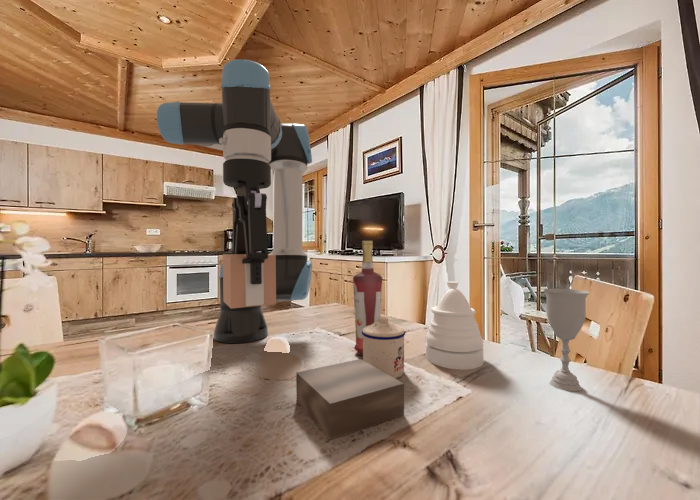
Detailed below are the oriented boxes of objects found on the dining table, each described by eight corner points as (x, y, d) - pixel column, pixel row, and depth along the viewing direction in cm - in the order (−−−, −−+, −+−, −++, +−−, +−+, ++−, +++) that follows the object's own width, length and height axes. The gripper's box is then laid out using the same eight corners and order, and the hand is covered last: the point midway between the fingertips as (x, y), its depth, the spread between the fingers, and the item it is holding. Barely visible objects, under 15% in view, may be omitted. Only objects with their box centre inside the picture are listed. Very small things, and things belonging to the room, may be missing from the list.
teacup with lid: (404, 382, 64) (404, 323, 64) (358, 379, 66) (358, 321, 66) (406, 361, 75) (406, 311, 75) (367, 358, 77) (367, 309, 77)
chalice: (539, 385, 62) (539, 291, 62) (547, 374, 67) (547, 287, 67) (586, 397, 57) (586, 294, 57) (591, 385, 62) (591, 290, 62)
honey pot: (424, 349, 84) (423, 279, 84) (476, 351, 82) (476, 280, 82) (428, 367, 72) (427, 285, 71) (489, 371, 70) (489, 286, 69)
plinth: (296, 401, 56) (296, 372, 56) (360, 384, 63) (360, 359, 63) (330, 439, 45) (330, 403, 45) (404, 415, 52) (403, 383, 52)
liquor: (385, 357, 78) (385, 240, 78) (355, 358, 77) (354, 240, 77) (379, 347, 86) (378, 241, 85) (351, 349, 85) (350, 241, 84)
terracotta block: (223, 301, 56) (222, 254, 55) (264, 297, 59) (263, 253, 59) (231, 308, 50) (230, 255, 49) (276, 304, 53) (275, 254, 53)
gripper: (214, 171, 61) (216, 294, 61) (235, 142, 43) (237, 315, 44) (255, 175, 64) (256, 291, 65) (289, 150, 47) (291, 309, 48)
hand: (248, 300), depth 54 cm, fingers closed on terracotta block, 7 cm apart
